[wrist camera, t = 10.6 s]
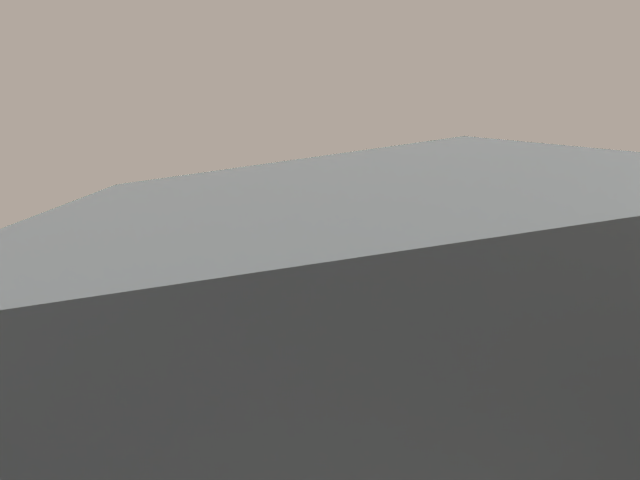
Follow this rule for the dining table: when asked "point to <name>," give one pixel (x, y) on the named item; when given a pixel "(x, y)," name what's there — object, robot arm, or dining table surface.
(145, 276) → the grey matte cube
